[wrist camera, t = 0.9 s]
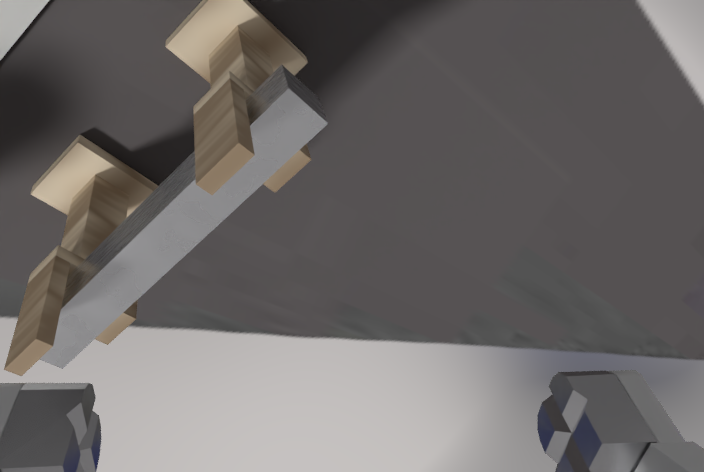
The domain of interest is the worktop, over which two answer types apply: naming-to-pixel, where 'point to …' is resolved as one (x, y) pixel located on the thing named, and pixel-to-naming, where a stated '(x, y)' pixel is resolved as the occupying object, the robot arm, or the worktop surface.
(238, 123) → the hook post
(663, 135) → the worktop surface
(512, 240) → the worktop surface
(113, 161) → the hook post
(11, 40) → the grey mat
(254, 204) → the worktop surface
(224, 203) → the steel bar
